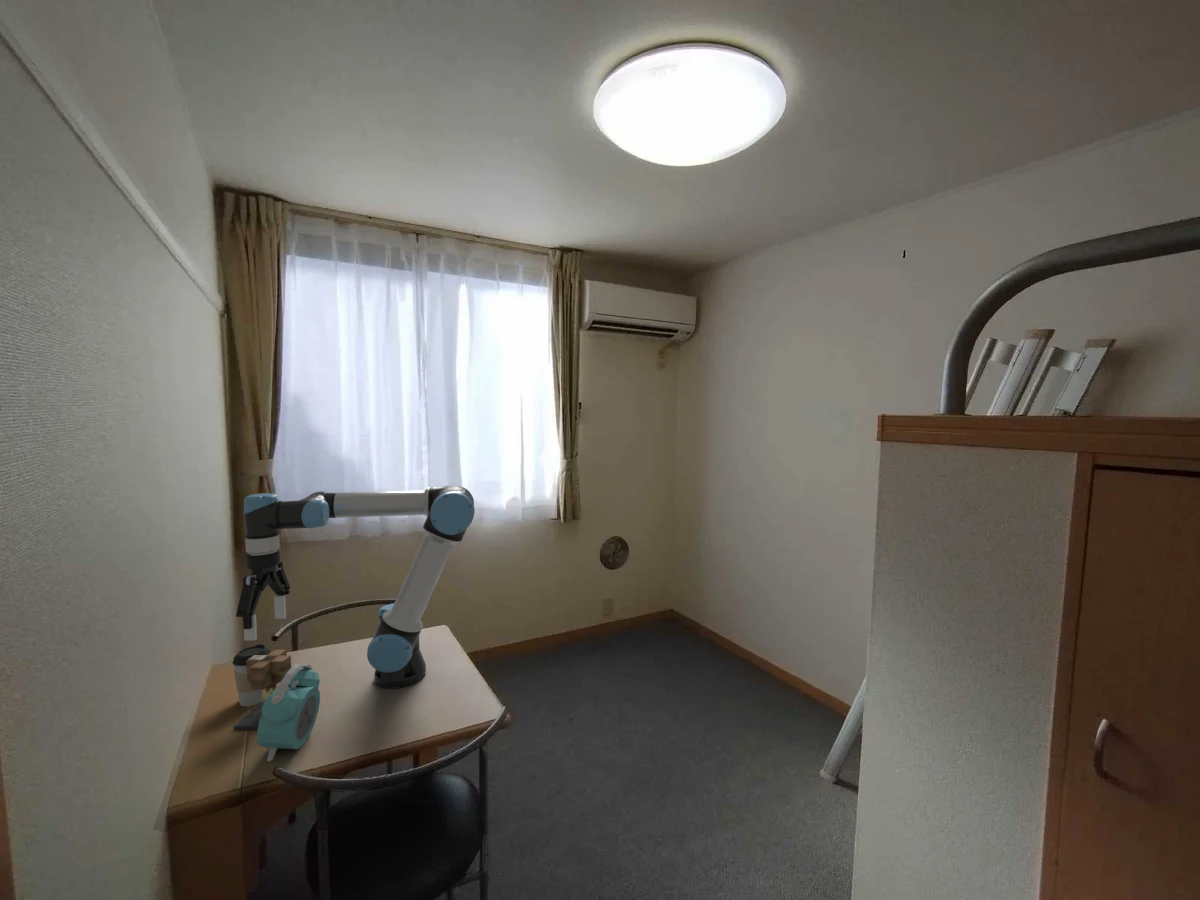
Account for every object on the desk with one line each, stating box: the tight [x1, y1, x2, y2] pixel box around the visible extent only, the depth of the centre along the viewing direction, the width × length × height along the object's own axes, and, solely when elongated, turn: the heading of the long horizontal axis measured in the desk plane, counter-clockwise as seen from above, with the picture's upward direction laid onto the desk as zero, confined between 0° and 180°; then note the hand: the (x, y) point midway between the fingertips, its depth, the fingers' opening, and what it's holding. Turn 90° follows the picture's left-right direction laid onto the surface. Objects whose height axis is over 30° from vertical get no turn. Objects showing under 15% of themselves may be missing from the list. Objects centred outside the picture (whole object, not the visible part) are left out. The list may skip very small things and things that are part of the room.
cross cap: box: [246, 649, 292, 690], centre depth 135 cm, size 10×10×7 cm
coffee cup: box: [232, 643, 271, 707], centre depth 143 cm, size 9×9×15 cm
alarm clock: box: [256, 663, 321, 762], centre depth 124 cm, size 17×10×20 cm, turn 5°
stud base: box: [232, 683, 279, 731], centre depth 136 cm, size 12×12×9 cm
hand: (266, 628), depth 134 cm, fingers open, 13 cm apart
